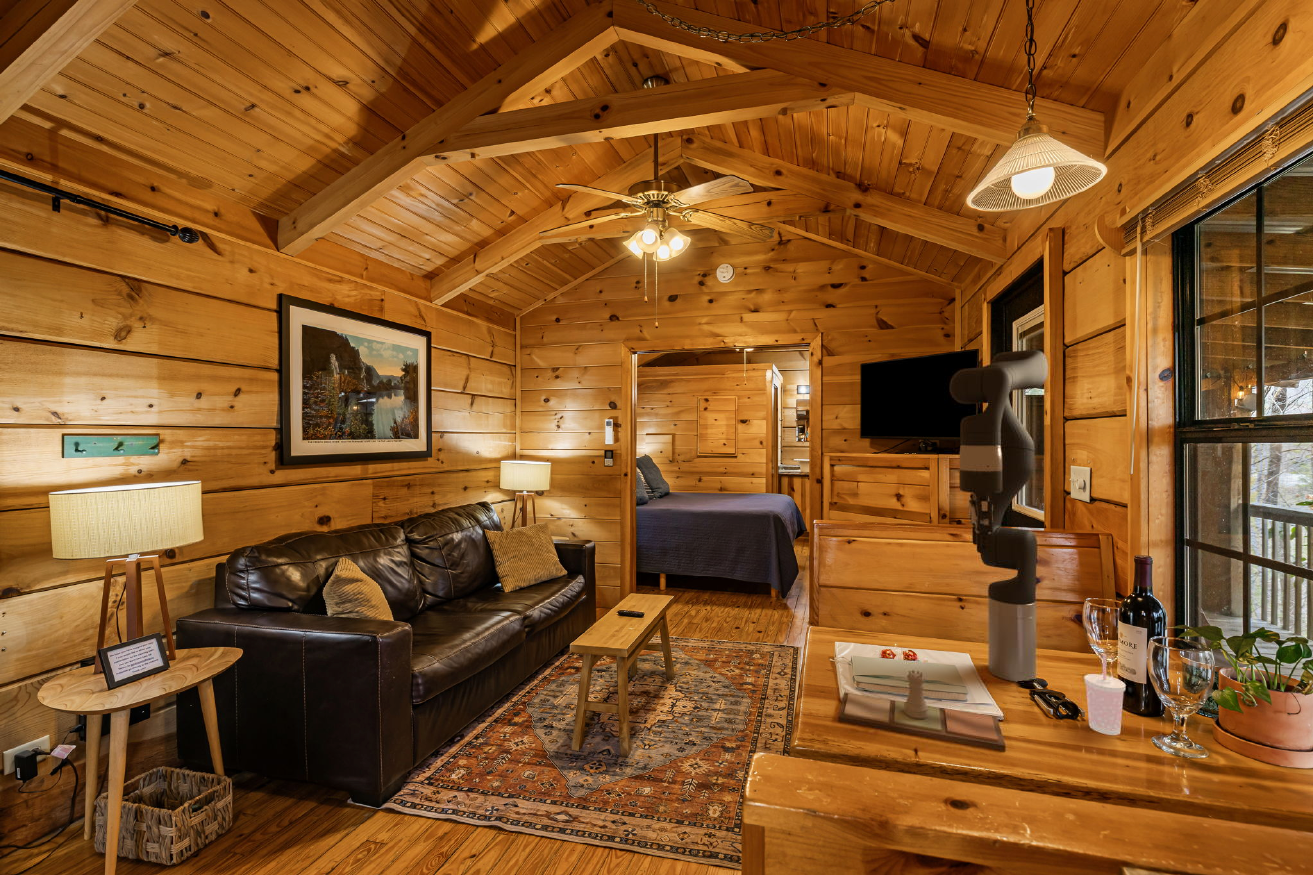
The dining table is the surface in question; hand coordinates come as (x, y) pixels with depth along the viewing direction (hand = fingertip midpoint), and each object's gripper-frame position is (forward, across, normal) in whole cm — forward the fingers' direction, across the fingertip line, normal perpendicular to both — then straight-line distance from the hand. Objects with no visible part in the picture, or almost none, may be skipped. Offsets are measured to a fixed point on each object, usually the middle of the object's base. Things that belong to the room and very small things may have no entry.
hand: (980, 548), depth 117 cm
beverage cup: (+32, -1, -20) cm, 38 cm away
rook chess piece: (+31, -11, +12) cm, 35 cm away
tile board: (+32, -11, +12) cm, 36 cm away
